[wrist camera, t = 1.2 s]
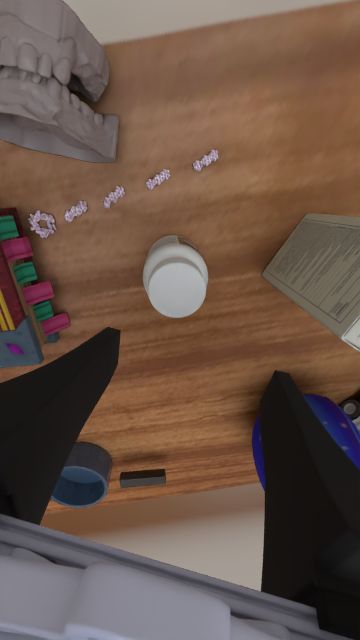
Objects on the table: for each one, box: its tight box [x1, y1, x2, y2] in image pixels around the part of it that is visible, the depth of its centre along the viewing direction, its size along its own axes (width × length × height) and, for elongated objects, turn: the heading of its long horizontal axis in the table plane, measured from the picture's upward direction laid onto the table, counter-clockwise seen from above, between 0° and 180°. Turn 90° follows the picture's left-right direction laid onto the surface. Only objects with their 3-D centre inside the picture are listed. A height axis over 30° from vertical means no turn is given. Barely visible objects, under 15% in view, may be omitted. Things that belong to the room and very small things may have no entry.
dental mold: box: [0, 0, 119, 163], centre depth 16 cm, size 8×7×5 cm
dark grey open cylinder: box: [51, 443, 112, 508], centre depth 31 cm, size 6×6×3 cm
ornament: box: [252, 394, 360, 491], centre depth 24 cm, size 11×9×15 cm
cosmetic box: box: [262, 213, 360, 352], centre depth 18 cm, size 6×4×12 cm
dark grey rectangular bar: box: [120, 469, 166, 488], centre depth 30 cm, size 5×1×1 cm, turn 93°
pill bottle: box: [143, 235, 208, 318], centre depth 20 cm, size 4×4×8 cm
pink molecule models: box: [28, 150, 218, 238], centre depth 21 cm, size 15×2×1 cm, turn 109°
